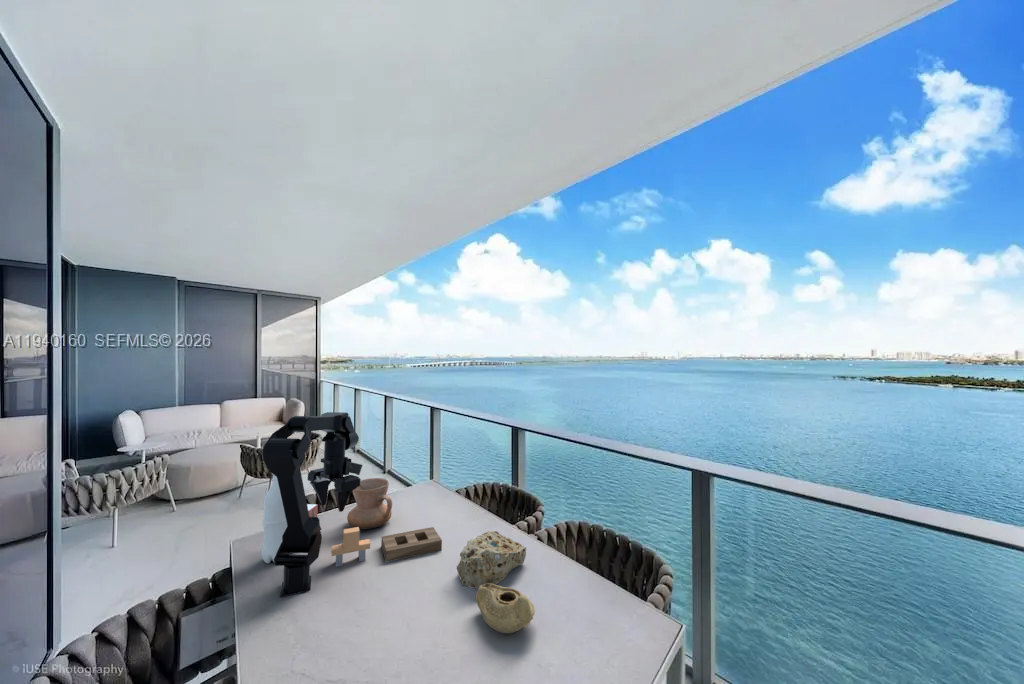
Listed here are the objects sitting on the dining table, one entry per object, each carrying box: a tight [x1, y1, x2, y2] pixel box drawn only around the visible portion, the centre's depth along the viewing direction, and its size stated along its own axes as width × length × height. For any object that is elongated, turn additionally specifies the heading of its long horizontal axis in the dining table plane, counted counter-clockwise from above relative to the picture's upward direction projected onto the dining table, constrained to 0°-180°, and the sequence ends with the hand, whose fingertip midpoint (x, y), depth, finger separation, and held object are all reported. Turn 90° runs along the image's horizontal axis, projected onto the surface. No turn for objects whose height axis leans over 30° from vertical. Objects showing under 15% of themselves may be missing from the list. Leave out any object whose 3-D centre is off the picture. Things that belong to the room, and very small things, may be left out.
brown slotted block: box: [380, 526, 443, 563], centre depth 116 cm, size 10×16×3 cm, turn 116°
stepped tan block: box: [330, 527, 371, 567], centre depth 109 cm, size 3×10×8 cm, turn 116°
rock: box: [456, 531, 527, 589], centre depth 104 cm, size 21×14×10 cm
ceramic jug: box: [346, 477, 393, 530], centre depth 133 cm, size 18×14×14 cm
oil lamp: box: [475, 583, 536, 634], centre depth 83 cm, size 11×15×8 cm
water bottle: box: [261, 473, 287, 564], centre depth 110 cm, size 7×7×25 cm
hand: (332, 508), depth 113 cm, fingers open, 9 cm apart
